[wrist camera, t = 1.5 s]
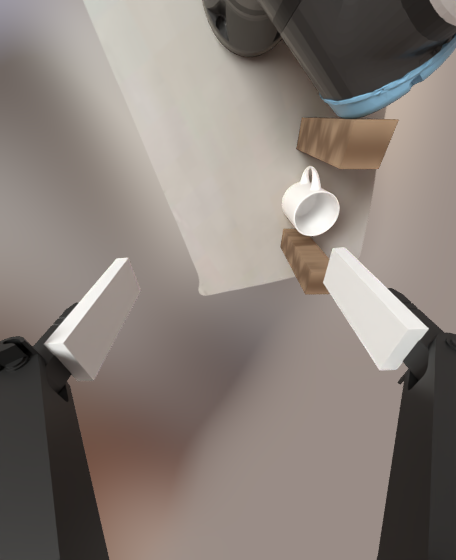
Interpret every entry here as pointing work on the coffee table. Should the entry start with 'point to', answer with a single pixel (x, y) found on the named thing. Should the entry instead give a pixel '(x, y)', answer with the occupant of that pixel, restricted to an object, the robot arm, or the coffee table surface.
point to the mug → (310, 205)
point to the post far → (305, 261)
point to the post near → (346, 141)
